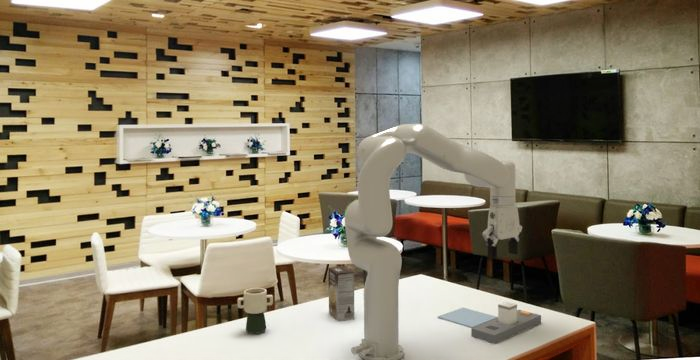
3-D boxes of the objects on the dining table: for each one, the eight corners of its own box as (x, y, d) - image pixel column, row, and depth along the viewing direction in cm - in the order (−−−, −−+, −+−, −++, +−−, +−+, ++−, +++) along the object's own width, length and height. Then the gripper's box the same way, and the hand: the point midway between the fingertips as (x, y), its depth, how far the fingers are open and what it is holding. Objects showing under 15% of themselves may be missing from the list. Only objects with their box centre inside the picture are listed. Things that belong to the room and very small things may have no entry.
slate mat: (472, 328, 173) (472, 327, 173) (437, 317, 183) (437, 316, 183) (497, 318, 182) (497, 316, 182) (463, 308, 193) (463, 307, 193)
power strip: (494, 343, 160) (494, 333, 160) (471, 336, 166) (471, 326, 166) (541, 322, 177) (541, 313, 177) (518, 316, 183) (518, 307, 183)
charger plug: (509, 332, 169) (509, 307, 168) (497, 329, 172) (498, 304, 171) (516, 329, 172) (517, 304, 171) (505, 326, 175) (505, 301, 174)
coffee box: (328, 313, 189) (327, 267, 188) (345, 311, 192) (345, 265, 190) (337, 321, 181) (336, 273, 179) (355, 319, 183) (355, 271, 182)
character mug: (271, 326, 177) (270, 286, 176) (275, 333, 170) (274, 292, 169) (237, 330, 174) (236, 289, 173) (239, 337, 167) (238, 295, 166)
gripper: (493, 205, 163) (493, 262, 165) (530, 199, 173) (530, 253, 174) (474, 203, 169) (474, 258, 171) (511, 197, 179) (511, 249, 181)
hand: (502, 255), depth 173 cm, fingers open, 9 cm apart
